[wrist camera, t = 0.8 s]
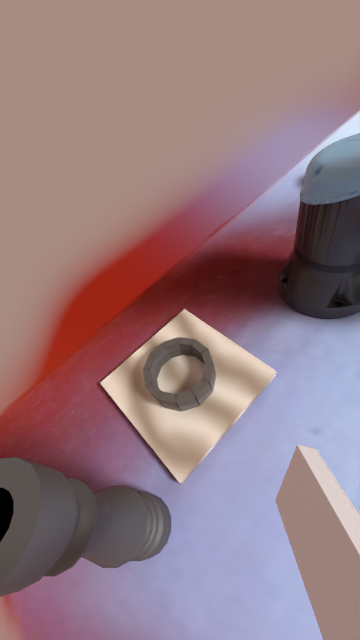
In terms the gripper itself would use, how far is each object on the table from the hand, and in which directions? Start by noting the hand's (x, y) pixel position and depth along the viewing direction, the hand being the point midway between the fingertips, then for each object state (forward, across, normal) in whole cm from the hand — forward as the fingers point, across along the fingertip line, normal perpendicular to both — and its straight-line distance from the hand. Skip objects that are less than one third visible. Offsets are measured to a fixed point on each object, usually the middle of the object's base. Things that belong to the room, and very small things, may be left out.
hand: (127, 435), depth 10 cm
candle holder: (+16, +3, -25) cm, 30 cm away
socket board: (+30, +4, -12) cm, 33 cm away
